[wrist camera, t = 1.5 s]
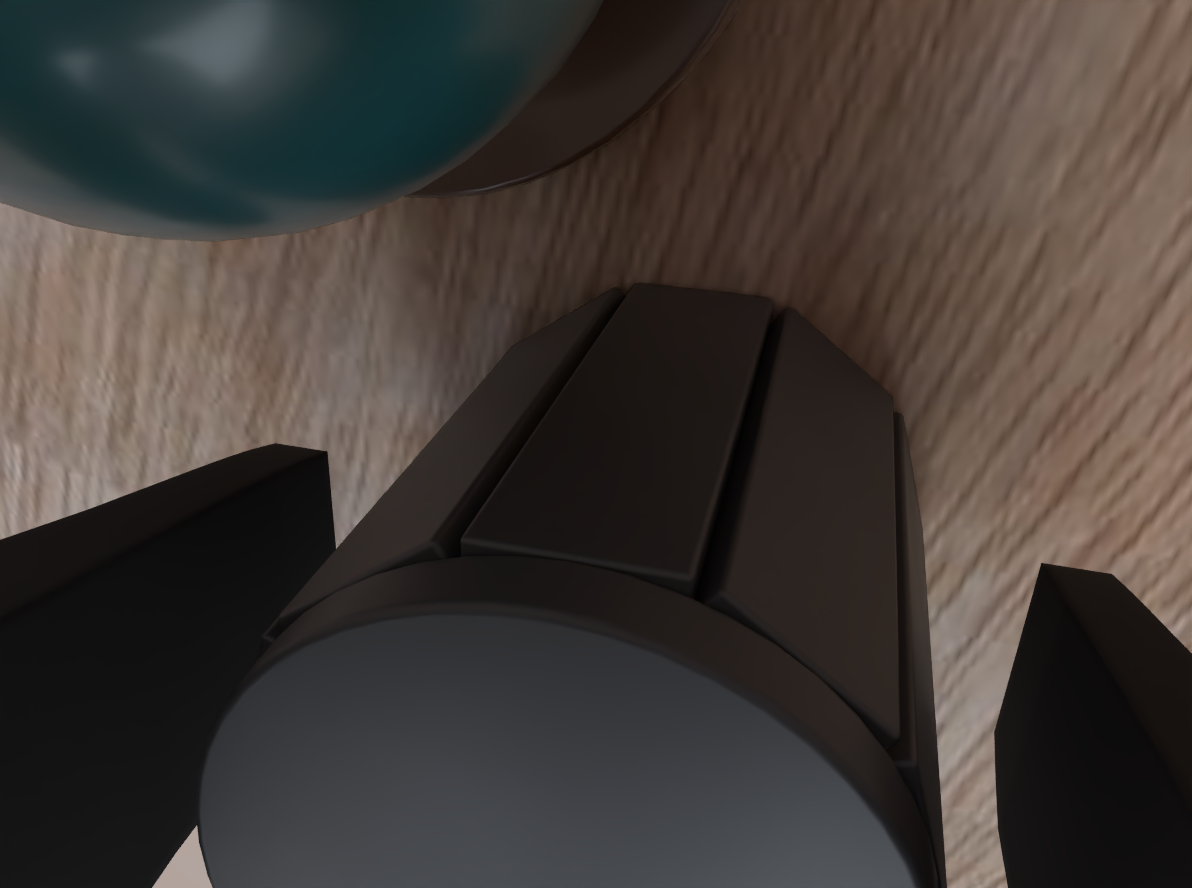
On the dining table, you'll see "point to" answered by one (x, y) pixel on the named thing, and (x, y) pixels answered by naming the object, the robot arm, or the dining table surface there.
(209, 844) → the black cap
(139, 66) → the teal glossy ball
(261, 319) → the dining table surface
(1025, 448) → the dining table surface
